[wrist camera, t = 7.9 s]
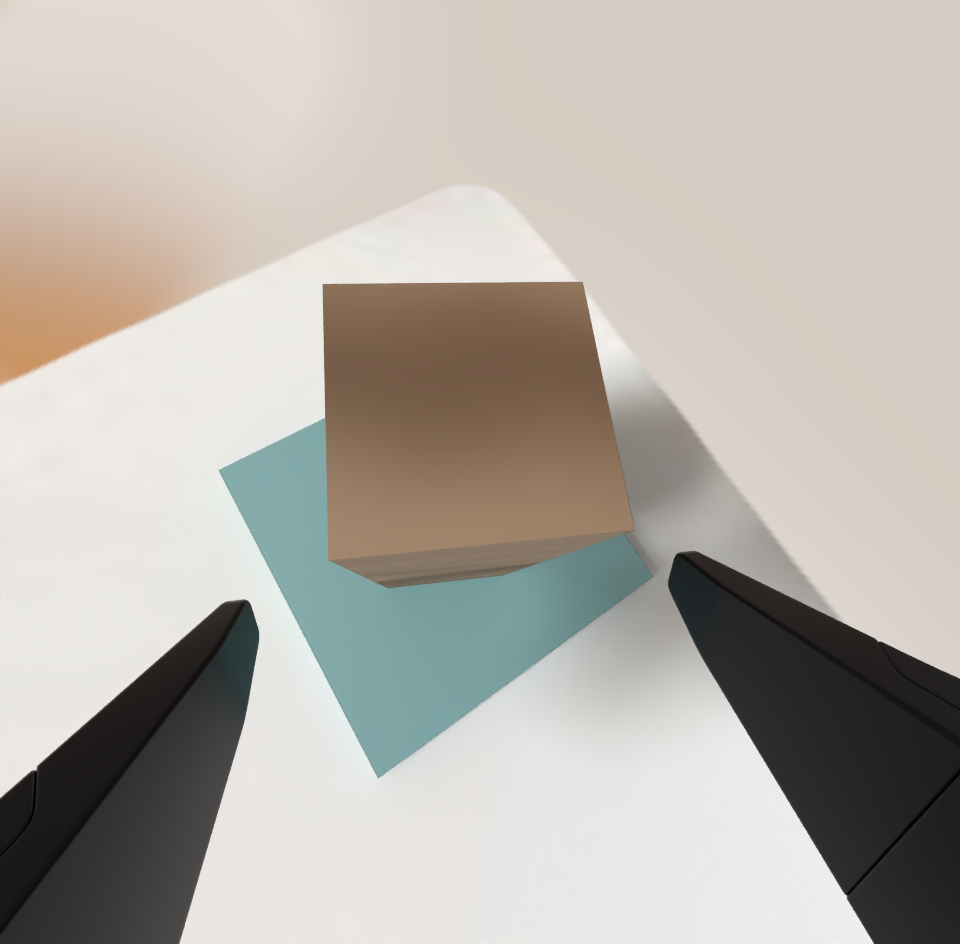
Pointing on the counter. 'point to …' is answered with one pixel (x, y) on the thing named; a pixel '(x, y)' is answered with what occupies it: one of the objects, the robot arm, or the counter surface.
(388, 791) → the counter surface
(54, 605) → the counter surface
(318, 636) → the teal board
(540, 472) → the walnut pillar
